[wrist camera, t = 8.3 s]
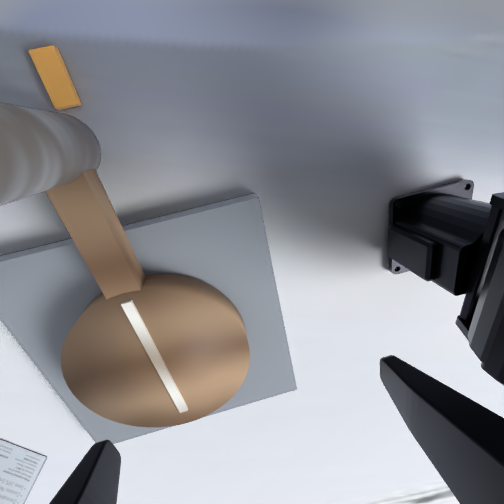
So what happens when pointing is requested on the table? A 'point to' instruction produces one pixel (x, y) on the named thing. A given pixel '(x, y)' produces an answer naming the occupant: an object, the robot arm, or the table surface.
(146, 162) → the table surface
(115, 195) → the table surface
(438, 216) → the robot arm
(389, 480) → the table surface
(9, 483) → the light bulb box
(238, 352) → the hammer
